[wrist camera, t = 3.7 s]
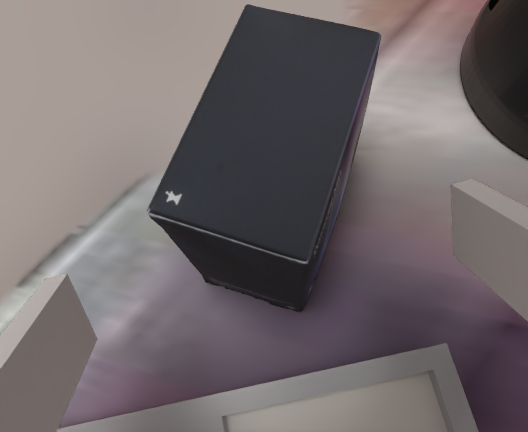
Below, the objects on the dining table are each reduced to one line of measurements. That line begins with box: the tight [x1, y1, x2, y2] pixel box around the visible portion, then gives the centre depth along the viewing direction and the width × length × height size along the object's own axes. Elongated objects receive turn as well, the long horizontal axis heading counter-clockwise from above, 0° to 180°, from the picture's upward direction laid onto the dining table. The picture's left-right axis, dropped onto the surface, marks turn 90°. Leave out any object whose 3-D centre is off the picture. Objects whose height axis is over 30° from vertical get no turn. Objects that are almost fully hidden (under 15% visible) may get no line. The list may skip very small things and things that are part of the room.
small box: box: [147, 5, 381, 312], centre depth 20 cm, size 11×6×10 cm, turn 161°
